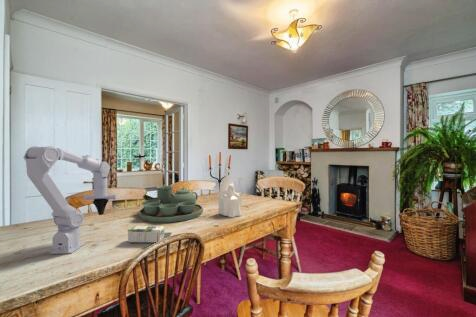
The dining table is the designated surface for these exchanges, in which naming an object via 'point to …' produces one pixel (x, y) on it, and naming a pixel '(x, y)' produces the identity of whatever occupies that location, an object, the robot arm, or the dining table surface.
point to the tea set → (170, 206)
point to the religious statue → (229, 197)
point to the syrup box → (145, 233)
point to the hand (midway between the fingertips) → (101, 214)
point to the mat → (154, 242)
